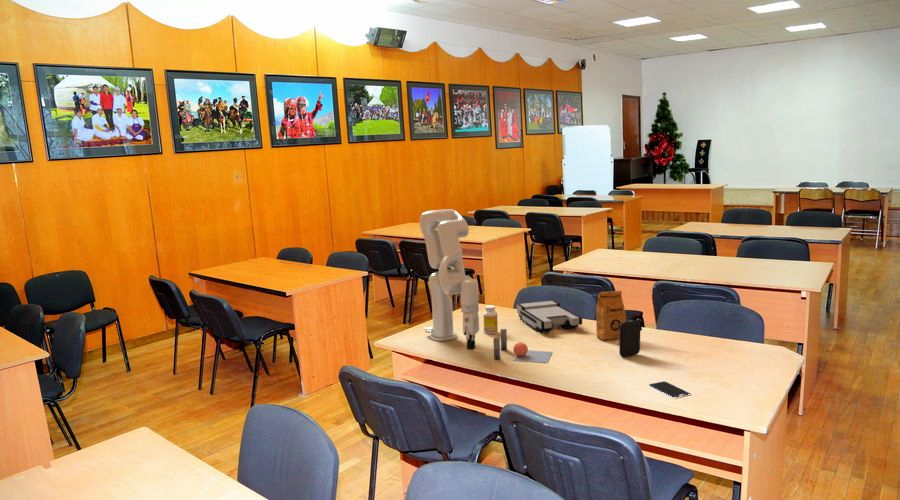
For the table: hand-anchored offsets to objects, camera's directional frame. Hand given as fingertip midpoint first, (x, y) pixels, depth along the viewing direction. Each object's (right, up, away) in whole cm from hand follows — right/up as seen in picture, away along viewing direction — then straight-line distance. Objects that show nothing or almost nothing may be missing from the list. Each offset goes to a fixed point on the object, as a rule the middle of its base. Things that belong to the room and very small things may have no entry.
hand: (471, 349), depth 263 cm
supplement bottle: (+10, +3, +29) cm, 31 cm away
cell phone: (+68, -7, -49) cm, 84 cm away
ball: (+20, +1, -8) cm, 22 cm away
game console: (+40, +5, +39) cm, 56 cm away
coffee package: (+64, +3, +13) cm, 65 cm away
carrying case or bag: (+66, -1, -11) cm, 67 cm away
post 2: (+14, -1, +2) cm, 15 cm away
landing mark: (+26, -2, -8) cm, 27 cm away
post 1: (+10, -3, -10) cm, 15 cm away
